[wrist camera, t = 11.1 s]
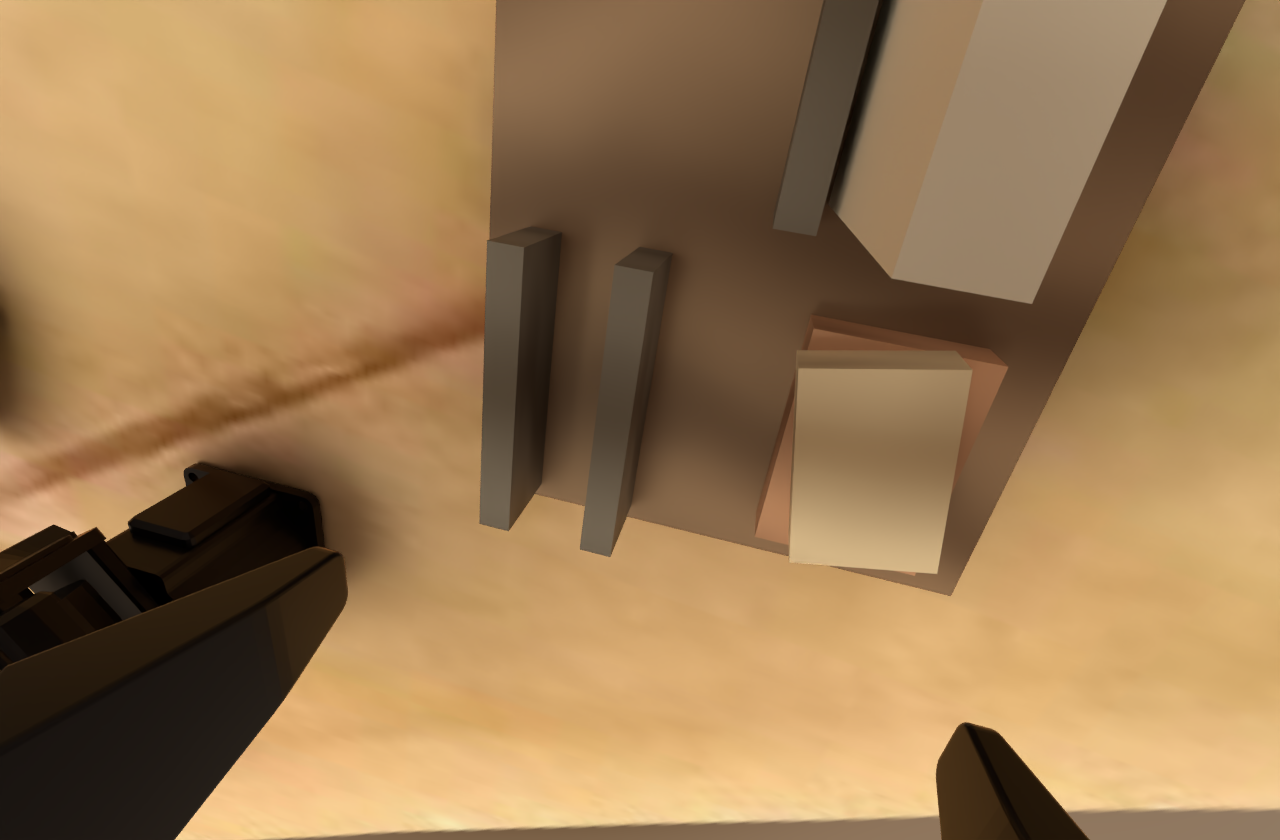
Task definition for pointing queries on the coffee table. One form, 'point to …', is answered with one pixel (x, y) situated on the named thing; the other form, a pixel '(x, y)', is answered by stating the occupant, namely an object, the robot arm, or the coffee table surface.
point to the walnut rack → (740, 255)
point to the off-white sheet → (983, 133)
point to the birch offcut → (874, 456)
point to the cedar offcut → (863, 337)
